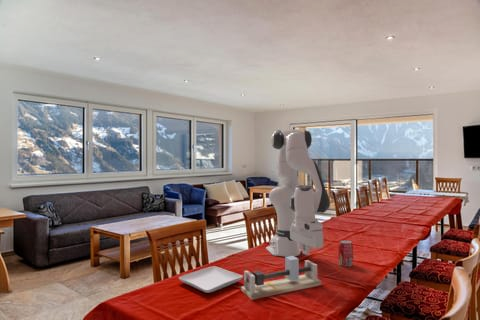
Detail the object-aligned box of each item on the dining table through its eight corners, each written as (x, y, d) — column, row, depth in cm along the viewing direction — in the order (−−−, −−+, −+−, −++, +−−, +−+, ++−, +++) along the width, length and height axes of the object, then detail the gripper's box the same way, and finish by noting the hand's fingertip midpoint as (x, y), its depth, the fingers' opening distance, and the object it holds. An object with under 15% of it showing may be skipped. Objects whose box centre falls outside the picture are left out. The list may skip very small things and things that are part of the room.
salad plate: (177, 284, 145) (177, 276, 145) (213, 271, 160) (213, 264, 160) (207, 298, 130) (206, 290, 130) (244, 283, 145) (244, 275, 145)
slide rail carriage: (285, 277, 142) (285, 257, 142) (293, 276, 144) (292, 255, 144) (290, 281, 138) (290, 260, 138) (298, 279, 140) (298, 258, 140)
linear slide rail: (241, 290, 137) (240, 270, 136) (308, 276, 150) (307, 258, 150) (251, 299, 127) (251, 278, 127) (321, 284, 141) (321, 265, 141)
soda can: (341, 261, 171) (341, 239, 171) (355, 264, 166) (355, 241, 166) (336, 265, 165) (336, 242, 165) (350, 268, 161) (350, 244, 161)
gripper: (286, 219, 151) (287, 249, 151) (313, 227, 133) (314, 261, 133) (297, 218, 154) (298, 247, 154) (325, 225, 135) (326, 258, 135)
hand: (306, 254), depth 143 cm, fingers closed
